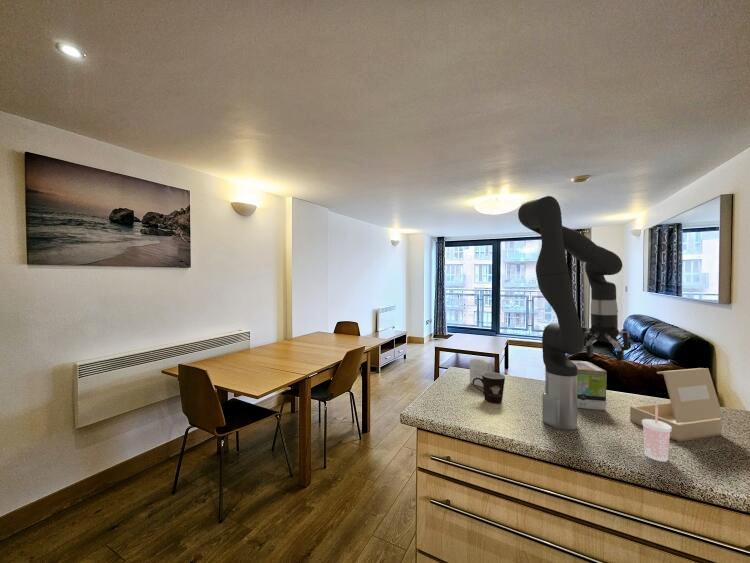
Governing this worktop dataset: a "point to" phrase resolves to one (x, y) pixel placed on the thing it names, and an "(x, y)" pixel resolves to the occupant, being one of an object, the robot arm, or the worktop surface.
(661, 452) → the beverage cup
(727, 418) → the worktop surface
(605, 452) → the worktop surface
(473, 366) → the photo printer
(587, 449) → the worktop surface
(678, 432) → the mailer box
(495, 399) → the coffee mug
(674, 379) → the lid
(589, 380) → the tea box
